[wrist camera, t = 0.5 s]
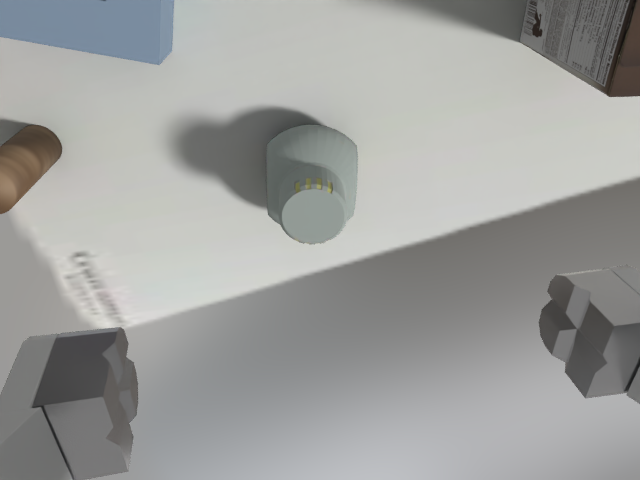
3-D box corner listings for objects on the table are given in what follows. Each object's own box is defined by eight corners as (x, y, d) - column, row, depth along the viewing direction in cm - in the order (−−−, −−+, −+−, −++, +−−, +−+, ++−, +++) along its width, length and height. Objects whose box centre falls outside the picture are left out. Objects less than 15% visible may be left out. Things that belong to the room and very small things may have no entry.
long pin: (15, 121, 49) (-44, 165, 40) (60, 128, 49) (11, 173, 41) (20, 160, 51) (-35, 210, 42) (63, 167, 51) (17, 217, 43)
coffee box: (639, -38, 43) (796, -15, 30) (616, 42, 47) (748, 96, 33) (531, -36, 43) (640, -12, 30) (516, 45, 47) (608, 100, 33)
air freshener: (348, 215, 55) (357, 270, 47) (270, 214, 55) (265, 269, 47) (354, 115, 50) (367, 157, 41) (268, 114, 49) (262, 156, 41)
